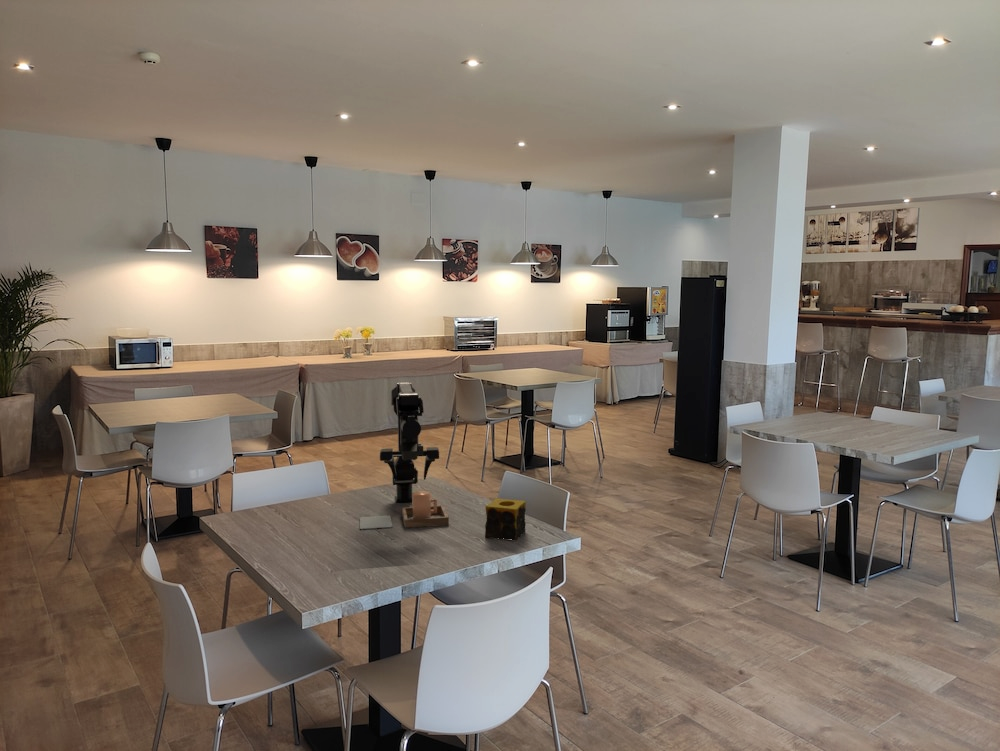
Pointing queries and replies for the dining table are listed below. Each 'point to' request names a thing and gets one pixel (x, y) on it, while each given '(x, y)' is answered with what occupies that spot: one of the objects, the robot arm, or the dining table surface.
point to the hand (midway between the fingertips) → (410, 480)
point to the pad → (375, 522)
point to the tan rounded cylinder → (423, 504)
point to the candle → (505, 519)
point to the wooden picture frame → (425, 521)
